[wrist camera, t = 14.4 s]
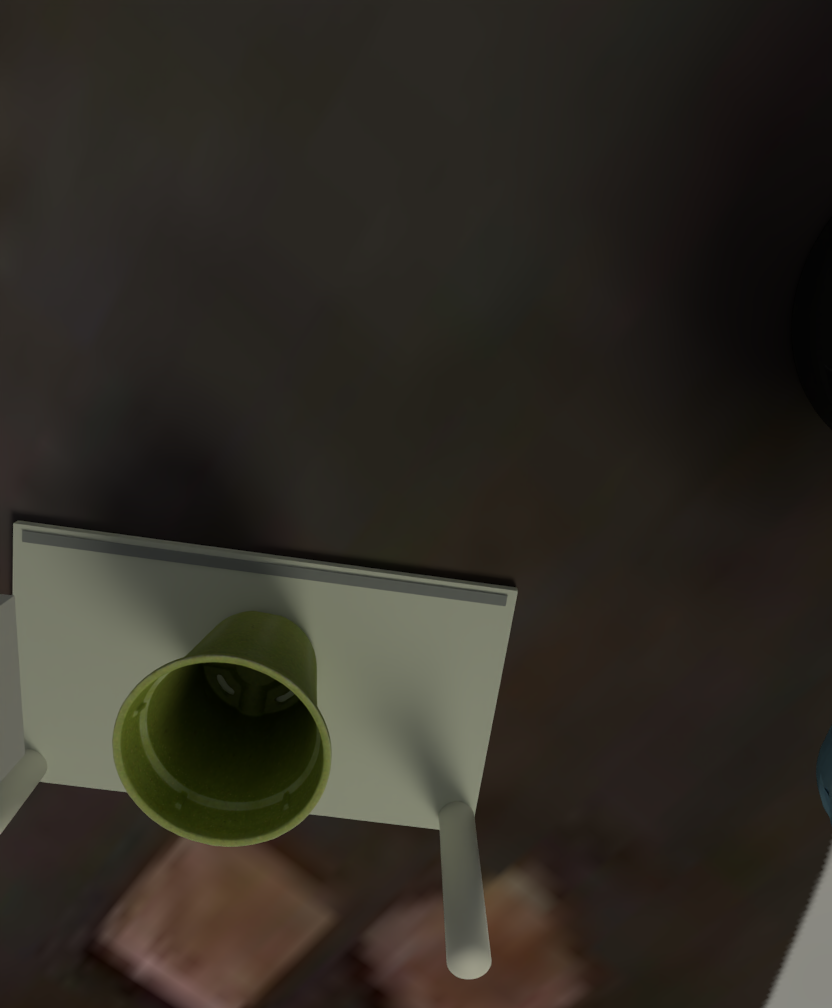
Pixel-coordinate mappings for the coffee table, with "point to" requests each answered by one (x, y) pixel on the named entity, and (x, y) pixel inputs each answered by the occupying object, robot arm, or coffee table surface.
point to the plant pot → (228, 735)
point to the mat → (340, 695)
